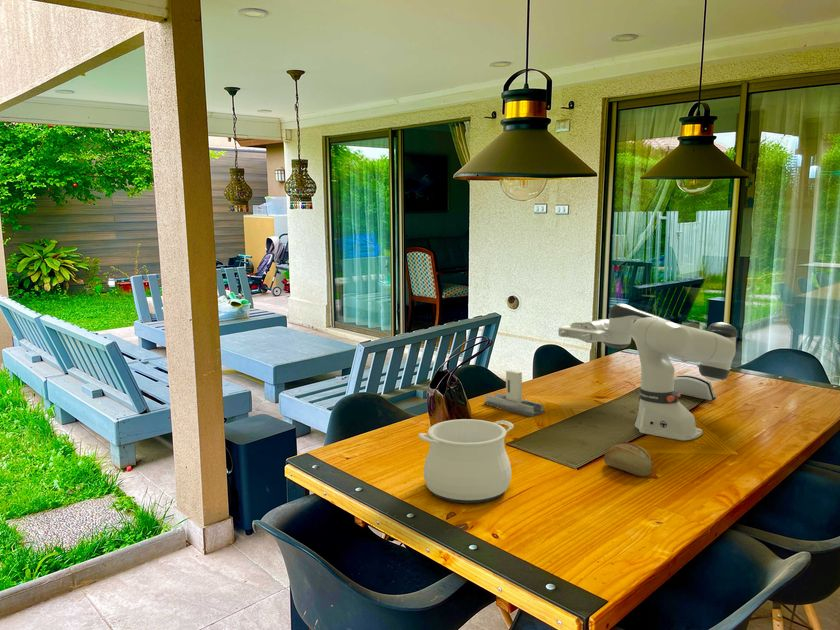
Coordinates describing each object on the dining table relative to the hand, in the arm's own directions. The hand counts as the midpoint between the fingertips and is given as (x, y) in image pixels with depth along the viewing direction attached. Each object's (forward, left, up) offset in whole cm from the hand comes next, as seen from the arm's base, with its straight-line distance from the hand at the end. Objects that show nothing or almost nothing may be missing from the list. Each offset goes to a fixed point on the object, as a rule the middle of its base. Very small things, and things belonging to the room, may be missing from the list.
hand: (570, 336), depth 260 cm
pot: (-32, +91, -28) cm, 101 cm away
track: (+11, +22, -28) cm, 37 cm away
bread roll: (-55, +47, -28) cm, 78 cm away
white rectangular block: (+11, +22, -27) cm, 36 cm away
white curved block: (-29, -46, -28) cm, 61 cm away
